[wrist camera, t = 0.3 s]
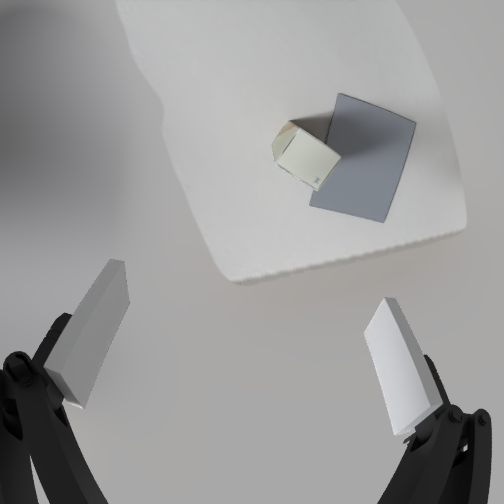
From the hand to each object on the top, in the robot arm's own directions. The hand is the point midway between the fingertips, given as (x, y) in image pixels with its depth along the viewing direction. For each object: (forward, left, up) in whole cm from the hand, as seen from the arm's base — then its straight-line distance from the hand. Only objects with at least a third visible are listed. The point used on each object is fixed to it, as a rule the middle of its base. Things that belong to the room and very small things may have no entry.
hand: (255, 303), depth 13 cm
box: (-4, +4, -26) cm, 27 cm away
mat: (-4, +14, -26) cm, 30 cm away
